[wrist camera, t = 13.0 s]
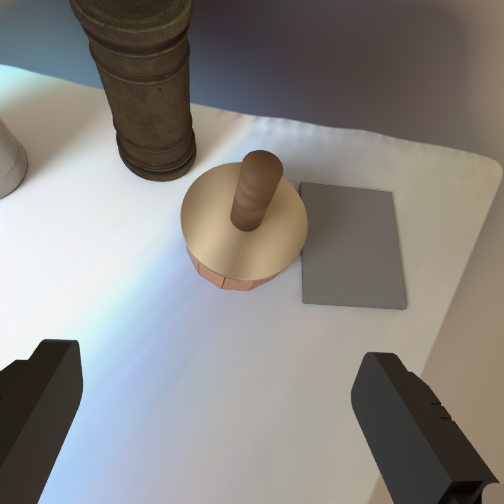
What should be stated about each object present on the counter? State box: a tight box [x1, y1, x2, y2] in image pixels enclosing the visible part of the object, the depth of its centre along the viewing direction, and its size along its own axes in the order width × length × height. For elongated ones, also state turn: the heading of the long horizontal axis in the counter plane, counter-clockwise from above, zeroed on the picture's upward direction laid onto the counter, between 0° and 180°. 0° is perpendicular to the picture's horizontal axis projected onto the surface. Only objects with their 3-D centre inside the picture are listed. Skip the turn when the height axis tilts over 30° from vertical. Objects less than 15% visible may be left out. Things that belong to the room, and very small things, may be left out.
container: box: [69, 0, 197, 182], centre depth 31 cm, size 9×9×18 cm
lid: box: [181, 150, 308, 281], centre depth 27 cm, size 12×12×9 cm
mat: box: [300, 182, 407, 310], centre depth 39 cm, size 12×15×1 cm
